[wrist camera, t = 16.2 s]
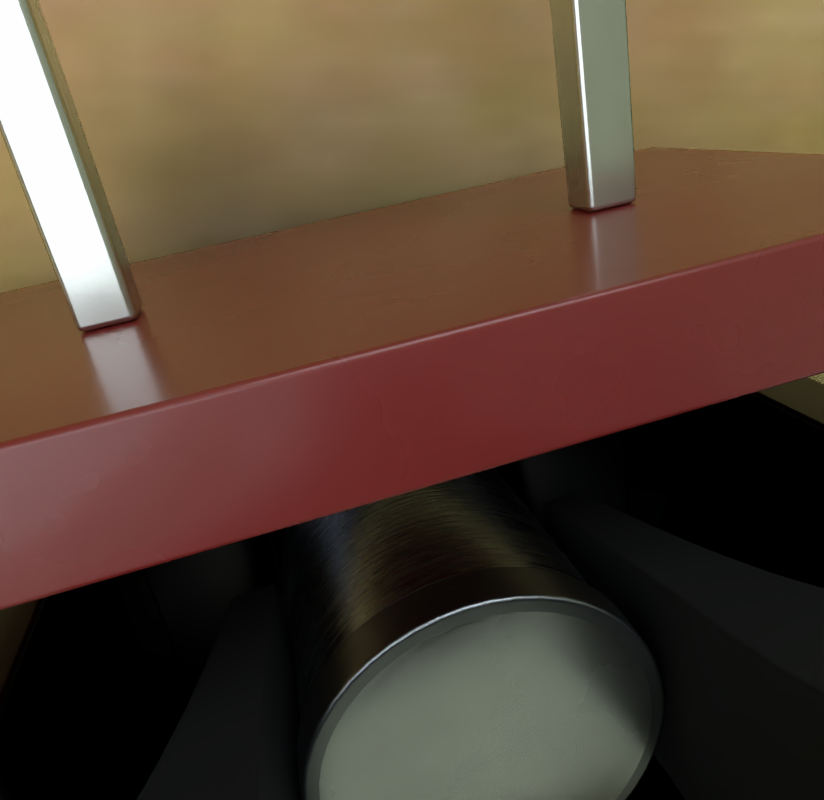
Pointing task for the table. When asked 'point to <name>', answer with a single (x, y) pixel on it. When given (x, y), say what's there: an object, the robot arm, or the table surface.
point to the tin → (460, 656)
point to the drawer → (378, 388)
